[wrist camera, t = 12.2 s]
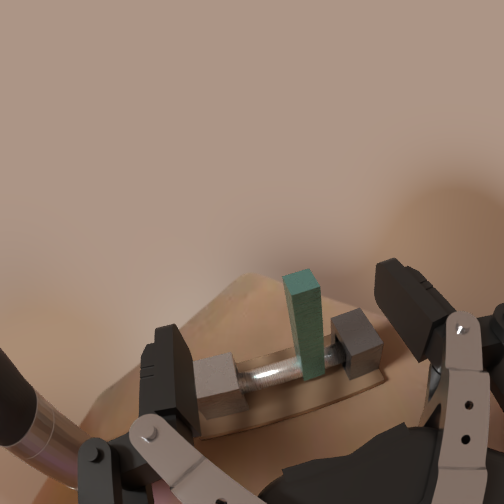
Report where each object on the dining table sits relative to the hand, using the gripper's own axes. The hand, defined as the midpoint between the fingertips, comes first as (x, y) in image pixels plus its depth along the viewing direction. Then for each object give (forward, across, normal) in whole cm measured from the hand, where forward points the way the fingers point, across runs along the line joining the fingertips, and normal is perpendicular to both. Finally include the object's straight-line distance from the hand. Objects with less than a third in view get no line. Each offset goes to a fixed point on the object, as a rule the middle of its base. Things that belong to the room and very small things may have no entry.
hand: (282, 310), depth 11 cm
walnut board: (+15, -1, +30) cm, 34 cm away
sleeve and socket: (+15, -1, +29) cm, 33 cm away
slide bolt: (+15, -3, +28) cm, 32 cm away
